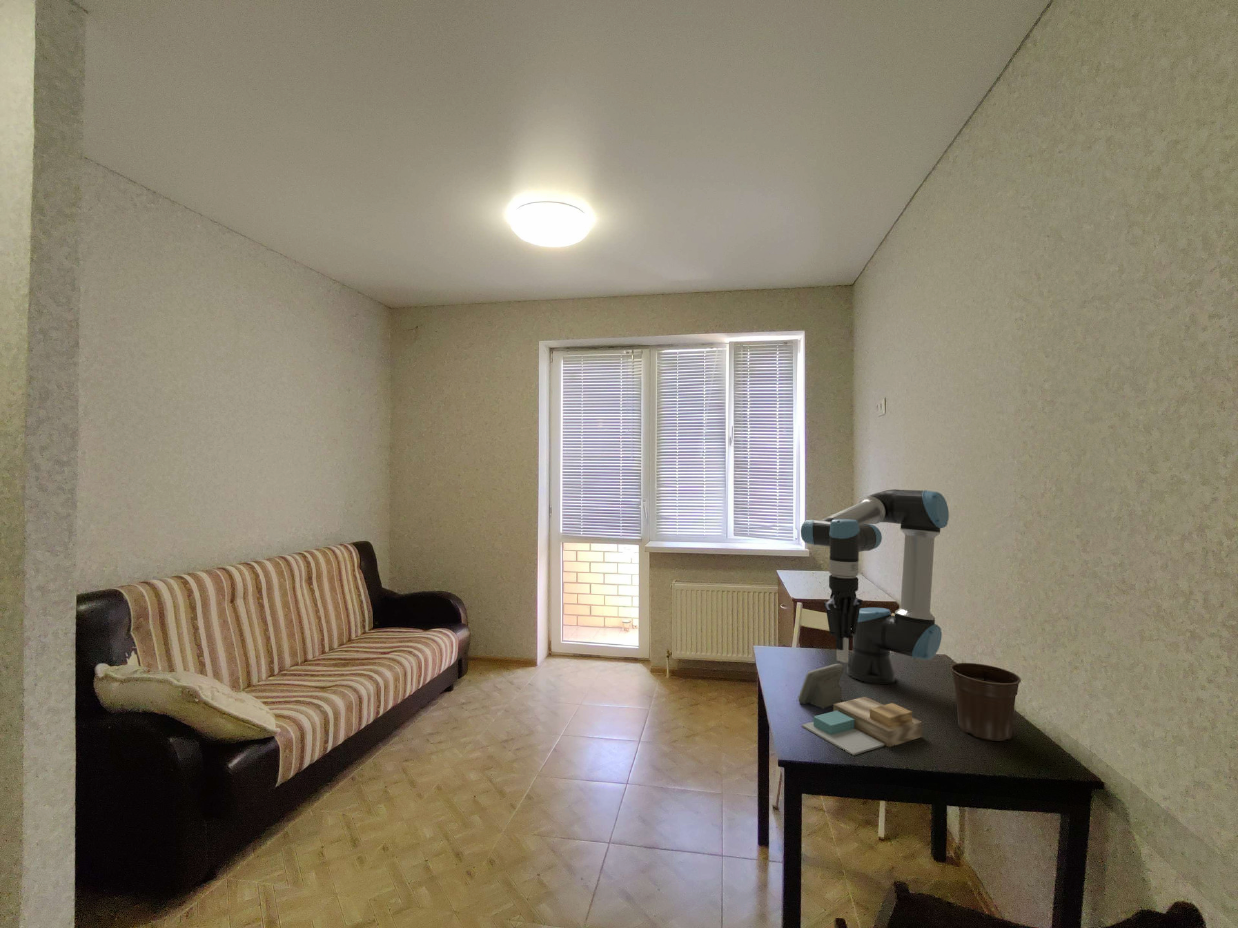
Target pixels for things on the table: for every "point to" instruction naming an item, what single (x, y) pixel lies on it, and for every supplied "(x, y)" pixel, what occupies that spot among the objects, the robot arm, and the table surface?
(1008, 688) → the plant pot
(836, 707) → the platform
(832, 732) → the teal tile
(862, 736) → the mat
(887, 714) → the ochre tile
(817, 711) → the table surface
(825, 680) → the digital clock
